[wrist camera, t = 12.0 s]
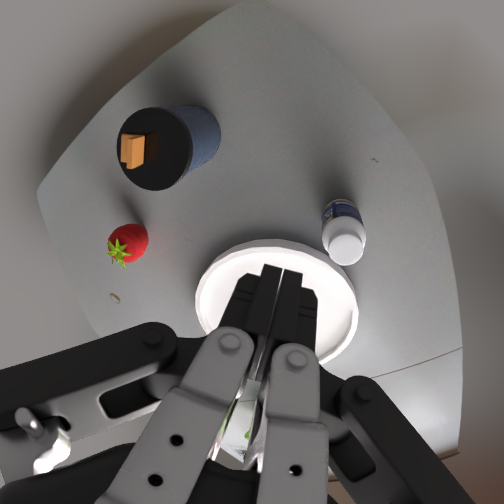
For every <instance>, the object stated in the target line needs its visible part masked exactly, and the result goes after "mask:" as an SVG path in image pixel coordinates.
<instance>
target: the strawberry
mask: <svg viewBox="0 0 504 504" xmlns="http://www.w3.org/2000/svg"><path fill="white" fill-rule="evenodd" d="M148 241H149V239H148V233H147V230H146V228H145V227H144V226H142V225H139V224H126V225H123V226H121V227H118V228H117V229H115V230H114V231H113V233H112V234H111V235H110V237H109V239H108V243H107V244H108V248H109V252H108V253H106V254H109V255H112V256H113V257H114V258H115V259H116V262H117V264H118V261H120V263H121V264H122V266H123V267H124V269H125V264H124V262H126V263H128V262H133V261H135V260H137V259H138V258H140V257H141V256H142V255H143V254H144V252H145V250H146V247H147V245H148ZM112 264H113V259H112Z"/></svg>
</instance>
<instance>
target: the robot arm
mask: <svg viewBox="0 0 504 504" xmlns="http://www.w3.org/2000/svg"><path fill="white" fill-rule="evenodd" d="M282 270H283V268H280V267H276V266H272V265H269V264H265V263H264V266H263V269H262V272H261V275H260V276H258V275H254V274H251V273H246V274H245V275H243V276H242V277H241V278H239V279H238V281H237V284H236V286H235V288H234V290H233V293H232V295H231V298H230V300H229V302H228V304H227V307H226V309H225V311H224V313H223V316H222V318H221V320H220V323H219V325H218V327H217V328H216V329H214V330H212V331H211V332H210V333H209V334H208V335H207V336H204V337H200V338H181V337H177V336H176V334H175V332H174V331H173V329H171V328H170V327H169V326H167V325H165V324H163V323H159V322H147V323H144V324H141V325H138V326H135V327H132V328H129V329H126V330H123V331H120V332H118V333H115V334H112V335H109V336H106V337H103V338H100V339H97V340H94V341H91V342H88V343H85V344H82V345H79V346H76V347H73V348H70V349H66V350H63V351H60V352H57V353H54V354H51V355H48V356H44V357H41V358H38V359H35V360H32V361H29V362H25V363H22V364H19V365H16V366H12V367H8V368H5V369H2V370H0V469H1V472H2V476H3V478H4V481H5V485H4V486H3V487H2V488H1V489H0V504H338V503H337V502H336V501H335V500H334V499H333V498H332V497H331V496H330V495H329V494H328V493H327V491H328V466H329V467H330V468H331V470H332V471H333V473H334V474H335V475H336V477H337V478H338V480H339V481H340V482H341V484H342V485H343V487H344V488H345V489H346V491H347V492H348V493H349V495H350V496H351V498H352V499H353V500H354V502H355V503H356V504H475V503H474V501H473V500H472V499H471V498H470V496H469V495H468V494H467V493H466V491H465V490H464V489H463V488H462V486H461V485H460V484H459V483H458V481H457V480H456V479H455V478H454V476H453V475H452V474H451V473H450V471H449V470H448V469H447V468H446V467H445V465H444V464H443V463H442V462H441V460H440V459H439V458H438V457H437V455H436V454H435V453H434V452H433V450H432V449H431V448H430V447H429V445H428V444H427V443H426V442H425V441H424V439H423V438H422V437H421V436H420V434H419V433H418V432H417V431H416V430H415V428H414V427H413V426H412V425H411V424H410V422H409V421H408V420H407V419H406V417H405V416H404V415H403V414H402V413H401V411H400V410H399V409H398V408H397V407H396V405H395V404H394V403H393V402H392V401H391V399H390V398H389V397H388V396H387V395H386V393H385V392H384V391H383V390H382V389H381V387H380V386H379V385H378V384H377V383H376V382H375V381H374V380H372V379H370V378H368V377H365V376H352V377H350V378H348V379H347V380H346V381H345V380H343V379H341V378H339V377H337V376H335V375H333V374H331V373H329V372H328V371H326V370H325V369H324V368H323V367H322V366H321V365H320V364H319V360H318V358H317V356H316V354H315V346H316V331H317V310H318V298H317V296H316V294H315V292H314V290H313V289H309V288H305V287H302V279H303V273H300V272H296V271H292V270H288V269H284V271H283V275H282V278H281V274H282ZM280 279H281V282H280ZM279 283H280V285H279ZM278 288H279V289H278ZM261 354H262V355H261ZM260 357H261V359H260ZM259 360H260V362H259ZM258 363H259V366H258ZM257 366H258V370H257V374H256V378H255V381H259V382H261V385H260V389H259V393H258V395H257V398H256V401H255V406H254V412H253V418H252V424H251V430H250V436H249V442H248V448H247V452H246V455H245V458H244V462H243V467H242V470H232V469H228V468H226V467H224V466H223V465H221V464H219V463H217V462H215V461H214V460H215V458H216V456H217V453H218V450H219V448H220V445H221V442H222V440H223V437H224V435H225V433H226V430H227V428H228V425H229V423H230V421H231V418H232V416H233V413H234V411H235V408H236V406H237V403H238V401H239V398H240V396H241V395H242V393H243V392H244V389H245V386H246V383H247V379H251V380H253V378H254V375H255V372H256V369H257ZM154 410H155V412H154V414H153V415H152V417H151V419H150V420H149V422H148V424H147V425H146V427H145V429H144V430H143V432H142V434H141V436H140V437H139V439H138V440H137V442H136V443H127V444H122V445H118V446H115V447H112V448H109V449H107V450H105V451H102V452H100V453H97V454H95V455H92V456H90V457H87V458H85V459H82V460H79V461H76V462H74V463H71V464H68V465H65V466H62V467H59V468H57V469H53V470H52V468H53V467H54V466H55V465H56V464H58V463H60V462H62V461H64V460H65V459H66V458H67V457H68V455H69V453H70V450H71V442H73V441H76V440H79V439H82V438H85V437H88V436H91V435H94V434H96V433H99V432H102V431H104V430H107V429H110V428H112V427H115V426H118V425H120V424H123V423H125V422H128V421H130V420H133V419H135V418H137V417H140V416H142V415H145V414H147V413H149V412H152V411H154Z"/></svg>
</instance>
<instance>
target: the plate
mask: <svg viewBox="0 0 504 504" xmlns="http://www.w3.org/2000/svg"><path fill="white" fill-rule="evenodd" d="M264 263H265V264H269V265H272V266H276V267H280V268H283V270H282V274H281V278H282V275H283V271H284V269H288V270H292V271H296V272H300V273H303V279H302V287H305V288H309V289H313V290H314V292H315V294H316V296H317V298H318V310H317V331H316V346H315V354H316V356H317V358H318V360H319V364H320V365H321V364H324V363H326V362H327V361H329V360H331V359H332V358H334V357H335V356H337V355H339V354H340V353H341V351H342V350H343V349H344V348H345V347H346V346H347V345H348V344H349V343H350V341H351V339H352V337H353V335H354V333H355V331H356V329H357V323H358V314H359V310H358V302H357V298H356V294H355V290H354V287H353V284H352V283H351V281H350V279H349V278H348V276H347V275H346V273H345V272H344V270H343V269H342V268H341V267H340V266H339V265H338V264H336V263H335V262H334V261H333V260H332V259H331V258H329V257H328V256H327V255H326V254H324V253H322V252H320V251H318V250H316V249H314V248H311V247H309V246H307V245H305V244H302V243H297V242H292V241H287V240H283V239H261V240H253V241H249V242H246V243H242V244H239V245H236V246H233V247H232V248H230V249H228V250H227V251H225V252H224V253H222V254H221V255H219V256H217V257H216V259H215V260H214V261H213V262H212V264H211V265H210V266H209V267H208V268H207V270H206V271H205V273H204V274H203V276H202V277H201V280H200V282H199V285H198V288H197V291H196V294H195V301H196V312H197V315H198V318H199V321H200V324H201V326H202V328H203V329H204V331H205V332H206V334H207V335H208V334H209V333H210V332H211V331H212V330H214V329H216V328H217V327H218V325H219V323H220V320H221V318H222V316H223V313H224V311H225V309H226V307H227V304H228V302H229V300H230V298H231V295H232V293H233V290H234V288H235V286H236V284H237V281H238V279H239V278H241V277H242V276H243V275H245V274H246V273H251V274H254V275H258V276H260V275H261V272H262V269H263V266H264ZM280 282H281V279H280ZM279 285H280V283H279ZM278 289H279V288H278ZM261 355H262V354H261ZM260 359H261V357H260ZM259 362H260V360H259ZM258 366H259V363H258ZM258 366H257V367H258Z"/></svg>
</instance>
